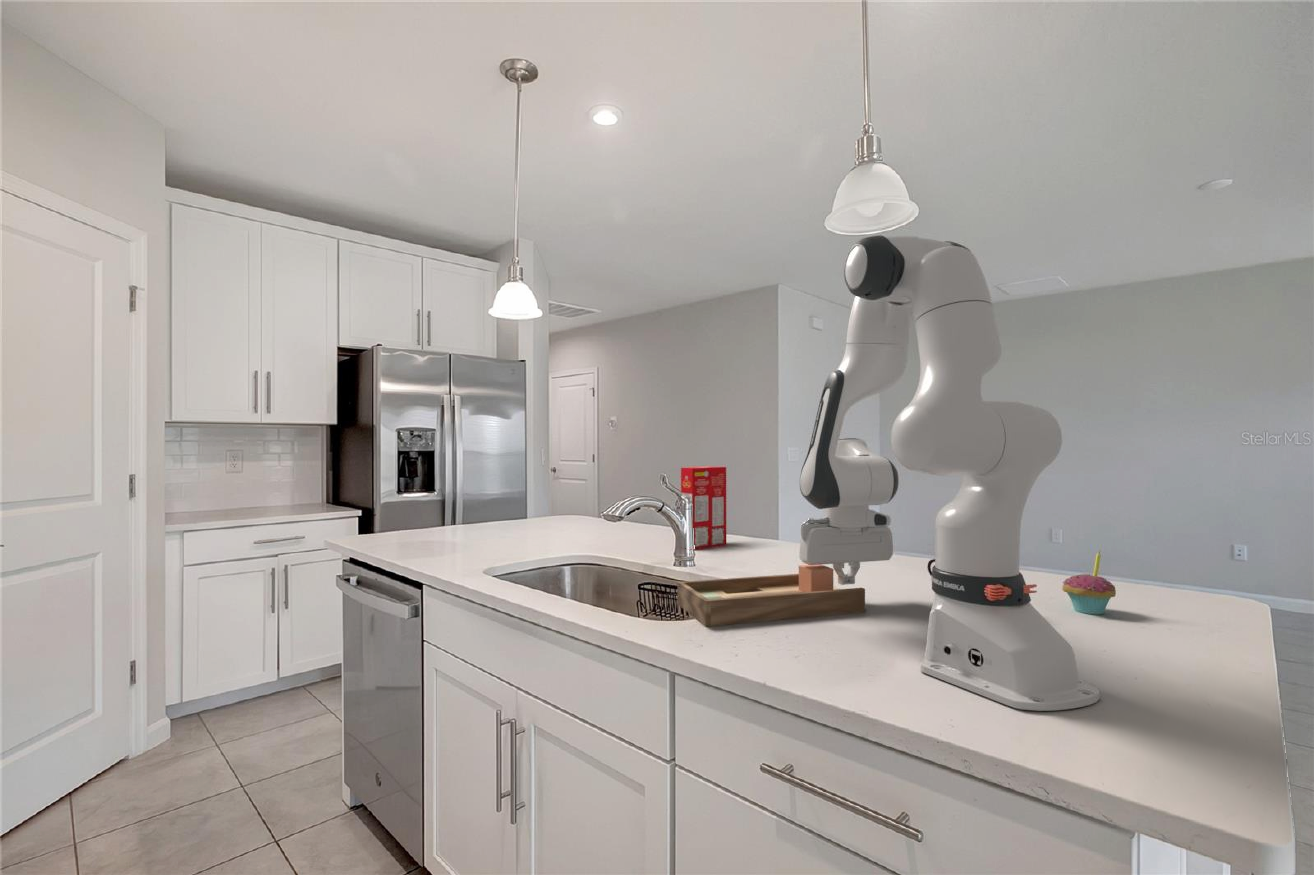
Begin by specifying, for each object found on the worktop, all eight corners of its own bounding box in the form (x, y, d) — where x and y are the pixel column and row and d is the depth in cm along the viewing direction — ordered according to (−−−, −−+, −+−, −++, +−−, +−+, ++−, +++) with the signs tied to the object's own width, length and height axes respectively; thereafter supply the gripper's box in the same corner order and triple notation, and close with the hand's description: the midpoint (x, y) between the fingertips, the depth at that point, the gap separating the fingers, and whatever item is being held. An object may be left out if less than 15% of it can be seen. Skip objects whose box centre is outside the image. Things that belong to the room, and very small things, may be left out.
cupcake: (1099, 606, 125) (1098, 546, 125) (1126, 618, 117) (1126, 554, 117) (1053, 605, 126) (1053, 545, 126) (1078, 617, 117) (1077, 553, 117)
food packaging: (714, 543, 203) (714, 466, 204) (726, 545, 199) (726, 467, 200) (681, 548, 194) (680, 467, 194) (692, 550, 190) (692, 468, 190)
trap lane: (865, 612, 121) (865, 588, 121) (705, 626, 111) (705, 601, 112) (820, 592, 136) (820, 572, 136) (677, 604, 127) (677, 581, 127)
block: (833, 593, 125) (833, 568, 125) (811, 595, 124) (811, 570, 124) (820, 588, 130) (820, 564, 130) (798, 589, 128) (798, 565, 129)
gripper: (809, 520, 123) (809, 590, 123) (897, 517, 129) (897, 584, 129) (793, 517, 129) (793, 583, 129) (878, 513, 135) (878, 577, 135)
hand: (846, 584), depth 129 cm, fingers closed
